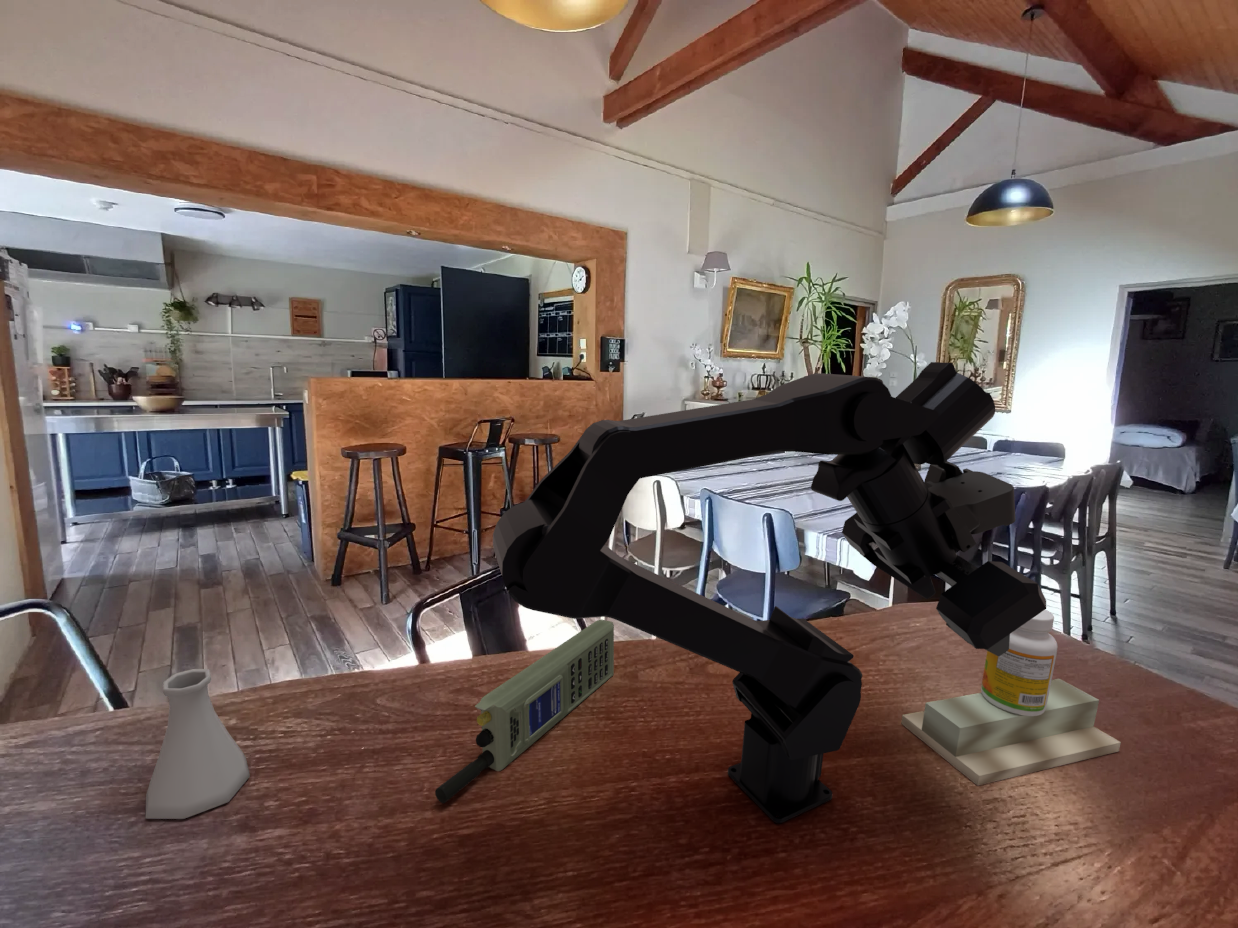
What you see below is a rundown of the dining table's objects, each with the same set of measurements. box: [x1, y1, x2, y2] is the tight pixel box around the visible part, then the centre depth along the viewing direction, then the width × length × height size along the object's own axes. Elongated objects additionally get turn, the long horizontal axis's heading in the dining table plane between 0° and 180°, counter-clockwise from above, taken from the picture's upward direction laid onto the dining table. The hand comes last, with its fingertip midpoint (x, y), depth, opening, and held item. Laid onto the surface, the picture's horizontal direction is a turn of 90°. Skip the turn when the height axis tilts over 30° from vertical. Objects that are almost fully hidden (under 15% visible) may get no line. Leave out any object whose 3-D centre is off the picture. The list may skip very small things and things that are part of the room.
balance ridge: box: [900, 678, 1121, 787], centre depth 58 cm, size 18×9×4 cm, turn 107°
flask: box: [145, 668, 251, 820], centre depth 47 cm, size 7×7×10 cm
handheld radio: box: [434, 618, 615, 804], centre depth 56 cm, size 7×3×25 cm
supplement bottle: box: [980, 609, 1058, 716], centre depth 56 cm, size 5×5×10 cm
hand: (963, 621), depth 53 cm, fingers open, 9 cm apart
